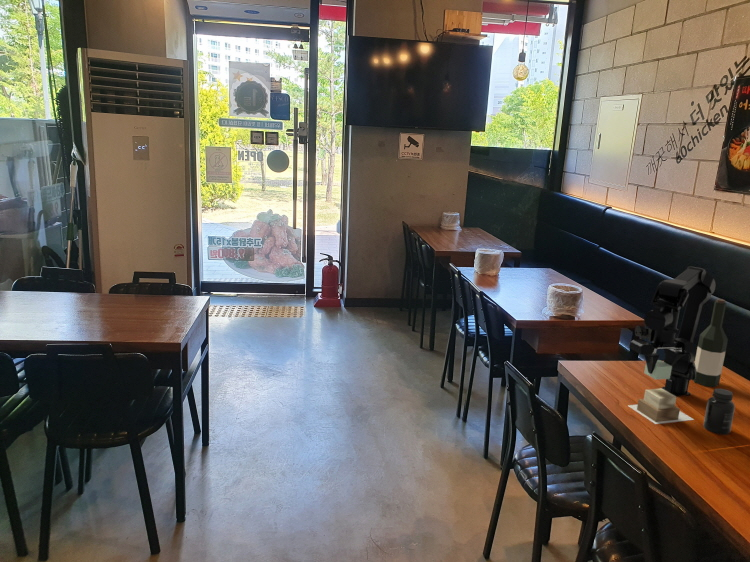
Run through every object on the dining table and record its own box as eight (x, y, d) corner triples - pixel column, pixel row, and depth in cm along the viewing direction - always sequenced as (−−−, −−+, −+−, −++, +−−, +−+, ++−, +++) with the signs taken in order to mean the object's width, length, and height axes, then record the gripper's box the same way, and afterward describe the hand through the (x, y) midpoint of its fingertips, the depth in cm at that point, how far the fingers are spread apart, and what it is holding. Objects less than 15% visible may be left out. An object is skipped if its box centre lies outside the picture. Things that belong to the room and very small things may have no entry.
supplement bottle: (726, 426, 165) (734, 389, 162) (732, 437, 158) (740, 398, 156) (700, 422, 167) (707, 385, 164) (705, 432, 161) (713, 394, 158)
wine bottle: (719, 381, 198) (735, 299, 190) (718, 389, 191) (735, 304, 183) (692, 375, 202) (707, 295, 195) (690, 383, 195) (706, 300, 188)
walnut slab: (658, 407, 175) (660, 397, 174) (677, 419, 167) (680, 408, 166) (636, 409, 173) (638, 399, 172) (655, 422, 165) (657, 411, 164)
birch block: (659, 398, 173) (661, 388, 172) (674, 407, 167) (676, 396, 166) (643, 400, 171) (645, 389, 170) (657, 409, 166) (659, 398, 165)
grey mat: (664, 402, 179) (664, 401, 179) (694, 420, 168) (694, 419, 168) (627, 406, 175) (627, 405, 175) (655, 424, 164) (655, 424, 164)
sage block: (657, 372, 173) (660, 360, 172) (669, 378, 168) (672, 366, 167) (644, 373, 172) (646, 360, 171) (655, 379, 167) (657, 367, 166)
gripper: (672, 314, 176) (664, 361, 180) (621, 316, 171) (613, 364, 175) (700, 326, 165) (691, 375, 169) (646, 327, 161) (637, 378, 165)
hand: (657, 372), depth 170 cm, fingers closed on sage block, 5 cm apart
